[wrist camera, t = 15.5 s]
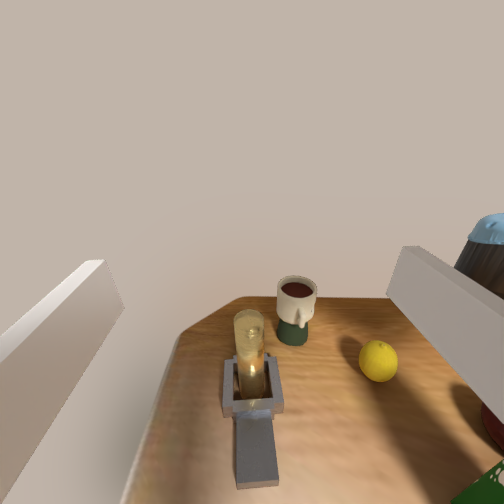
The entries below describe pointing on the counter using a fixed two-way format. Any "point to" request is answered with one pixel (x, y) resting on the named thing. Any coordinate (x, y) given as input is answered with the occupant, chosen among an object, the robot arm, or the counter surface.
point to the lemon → (378, 361)
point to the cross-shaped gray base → (254, 427)
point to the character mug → (295, 308)
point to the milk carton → (485, 488)
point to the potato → (493, 425)
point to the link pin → (250, 353)
